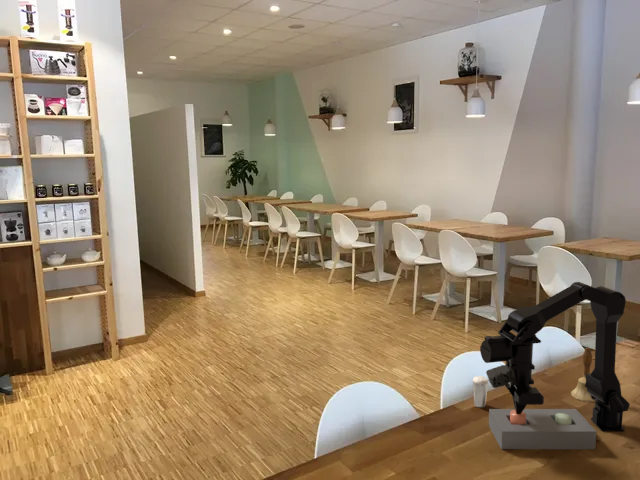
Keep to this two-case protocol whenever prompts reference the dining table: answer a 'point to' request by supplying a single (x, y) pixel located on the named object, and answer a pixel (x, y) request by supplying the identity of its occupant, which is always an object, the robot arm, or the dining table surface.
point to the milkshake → (480, 391)
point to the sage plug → (562, 419)
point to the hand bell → (584, 379)
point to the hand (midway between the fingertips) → (518, 413)
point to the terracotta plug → (517, 418)
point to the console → (542, 430)
